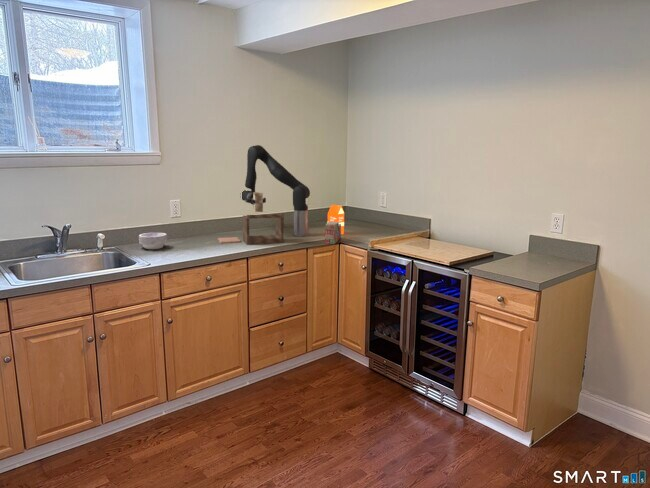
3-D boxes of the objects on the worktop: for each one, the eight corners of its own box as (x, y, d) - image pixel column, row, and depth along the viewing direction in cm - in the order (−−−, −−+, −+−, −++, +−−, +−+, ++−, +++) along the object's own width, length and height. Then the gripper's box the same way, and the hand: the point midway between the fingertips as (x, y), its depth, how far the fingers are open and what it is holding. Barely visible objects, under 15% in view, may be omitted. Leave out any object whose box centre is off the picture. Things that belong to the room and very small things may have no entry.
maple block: (261, 210, 316) (260, 192, 314) (262, 211, 312) (262, 193, 309) (253, 210, 315) (253, 192, 312) (255, 212, 310) (254, 193, 307)
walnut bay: (278, 238, 314) (278, 211, 310) (283, 242, 303) (283, 214, 299) (243, 240, 305) (242, 212, 302) (247, 244, 295) (246, 215, 291)
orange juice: (337, 235, 329) (338, 206, 325) (326, 233, 334) (327, 205, 330) (343, 234, 335) (344, 205, 331) (333, 232, 340) (334, 204, 336)
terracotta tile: (236, 238, 312) (236, 237, 312) (240, 242, 301) (240, 240, 301) (217, 239, 308) (217, 237, 308) (220, 243, 297) (220, 241, 297)
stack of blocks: (331, 237, 325) (332, 218, 322) (340, 237, 323) (341, 219, 321) (324, 243, 304) (325, 224, 302) (334, 244, 303) (335, 224, 300)
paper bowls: (157, 243, 291) (157, 230, 289) (172, 247, 282) (172, 234, 280) (134, 247, 279) (133, 234, 278) (148, 252, 270) (148, 238, 268)
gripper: (242, 193, 321) (247, 196, 306) (263, 192, 326) (269, 195, 311) (242, 204, 323) (247, 208, 308) (263, 203, 328) (270, 207, 313)
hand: (259, 201), depth 309 cm, fingers closed on maple block, 5 cm apart
